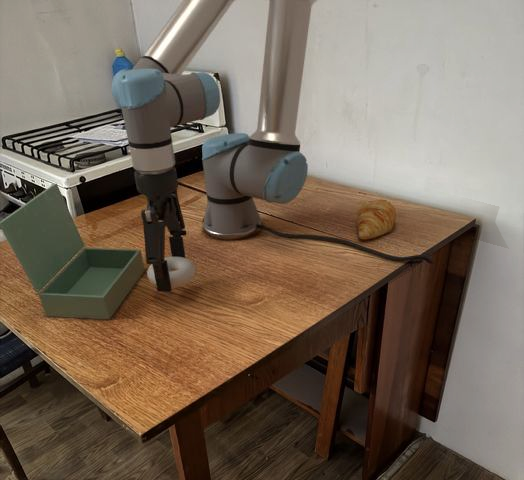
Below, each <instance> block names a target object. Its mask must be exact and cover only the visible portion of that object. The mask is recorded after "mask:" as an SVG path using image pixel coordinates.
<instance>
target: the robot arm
mask: <svg viewBox="0 0 524 480" xmlns="http://www.w3.org/2000/svg"><path fill="white" fill-rule="evenodd" d="M317 1H318V0H268V2H269V3H268V14H267V23H266V32H265V33H266V34H265V42H264V43H265V44H264V53H263V54H264V55H263V64H262V73H261V83H260V84H261V85H260V95H259V104H258V105H259V107H258V115H257V125H256V126H257V127H256V130H255V131H254V132H253V133H252V134H251V135H248V134H247V133H244V132H238V133H226V134H222V135H218V136H214V137H211V138H208V139H206V140H205V141H204V142H203V144H202V147H201V150H202V151H201V152H202V158H201V160H202V168H203V176H204V183H205V184H204V185H205V192H206V198H207V199H206V200H207V203H206V207H205V211H204V216H203V218H202V222H201V223H202V225H203V226H202V227H203V232H204V234H205V235H206V236H208V237H210V238H213V239H215V240H223V241H232V240H241V239H246V238H249V237H252V236H254V235H255V234H257V233H259V231H260V230H263V231H267V232H269V233H271V234H274V235H276V236H279V237H284V238H292V239H312V240H321V241H330V242H335V243H338V244H339V243H340V244H344V245H347V246H350V247H353V248H356V249H358V250H361V251H364V252H366V253H369V254H373V255H375V256H378V257H381V258H383V259H386V260H391V261H395V262H407V261H409V262H410V261H413V260H423V261H425V262H427V263H428V264H430V265H433V264H434V261H433V259H432V258H431V257H429V256H427V255H425V254H414V255H409V256H397V255H391V254H388V253H384V252H382V251H378V250H376V249H373V248H371V247H367V246H364V245H361V244H359V243H357V242H354V241H350V240H347V239H343V238H338V237H333V236H326V235H319V234H307V233H306V234H303V233H286V232H281V231H278V230H275V229H274V228H272V227H268V226H266V225H262V219H261V216H260V213H259V210H258V209H257V206H256V203H255V200H254V199H257V200H262V201H265V202H266V203H269V204H272V203H273V204H277V205H279V204H280V205H284V204H288V203H291V202H292V201H293V200H295V199H296V198H297V196H298V195H299V194H300V193H301V191H302V189H304V186H305V183H306V180H307V176H308V171H309V169H308V167H309V166H308V162H307V161H308V160H307V158H306V156H305V155H304V154H303V153H302V152H300V151H301V150H300V149H301V141H300V139H299V138H298V137H297V135H296V130H297V122H298V115H299V106H300V100H301V99H300V98H301V91H302V83H303V76H304V75H303V74H304V67H305V61H306V52H307V44H308V38H309V28H310V23H311V13H312V7H313V5H314V4H315V3H317ZM234 2H235V0H182V1H181V3H180V4H179V5H178V7H177V8H176V10H175V11H174V12H173V14H172V15H171V16H170V18H169V19H168V21H167V22H166V24H165V25H164V26H163V27H162V29H161V30H160V32H159V33H158V34H157V36H156V37H155V38H154V40H153V41H152V42H151V44H149V46H148V48H147V49H146V51H145V52H144V54H143V55H142V56H141V57H140V58H139V60H138V61H137V63H136V64H135V65H134V66H133V68H130V67H129V68H126V69H121V70H119V71H118V72H116V73H115V75H114V76H113V79H112V82H111V94H112V97H113V99H114V102H115V103H116V105H117V106H118V107H120V108H121V114H122V117H123V122H124V128H125V133H126V137H127V141H128V150H127V152H128V154H129V155H130V158H131V163H132V167H133V169H134V172H133V174H134V175H133V176H134V180H135V185H136V186H135V187H136V191H137V192H138V193H139V194H141V195H144V196H145V197H146V198H147V199H146V200H147V201H146V209H141V211H140V215H141V219H142V220H141V221H142V224H143V237H144V239H143V240H144V251H145V263H146V264H147V265H151V264H153V270H154V275H155V280H156V286H155V287H156V290H157V292H167V293H170V292H172V289H173V288H171V283H170V277H169V271H168V265H167V260H164V258H166V257H165V251H166V249H165V247H166V228H167V230H168V233H169V235H170V236H169V237H168V241H169V247H170V254H171V257H183V258H186V253H185V244H184V239H183V237H186V236H187V230H185V229H186V224H185V219H184V215H183V213H182V209H181V204H180V200H179V196H178V188H179V181H178V175H177V168H176V167H175V165H176V158H175V151H174V144H173V137H172V128H174V127H177V126H182V125H185V124H189V123H193V122H197V121H203V120H205V119H206V118H209V117H211V116H213V115H214V114H216V113H217V111H218V109H219V108H220V105H221V104H220V103H221V94H220V93H221V92H220V88H219V85H218V83H217V81H216V79H215V78H214V77H213V76H212V75H211V74H209V73H208V72H205V71H201V72H195V71H193V72H191V73H189V74H188V73H187V74H184V72H185V71H186V69H187V68H188V66H189V65H190V63H191V62H192V61H193V59H194V58H195V56H196V55H197V53H198V52H199V50H200V49H201V48H202V47H203V45H204V43H205V42H206V41H207V39H208V38H209V37H210V35H211V34H212V33H213V31H214V29H215V28H216V27H217V26H218V24H219V23H220V21H221V20H222V18H223V17H224V16H225V14H226V13H227V12H228V11H229V9H230V7H231V6H232V4H233V3H234Z"/></svg>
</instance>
